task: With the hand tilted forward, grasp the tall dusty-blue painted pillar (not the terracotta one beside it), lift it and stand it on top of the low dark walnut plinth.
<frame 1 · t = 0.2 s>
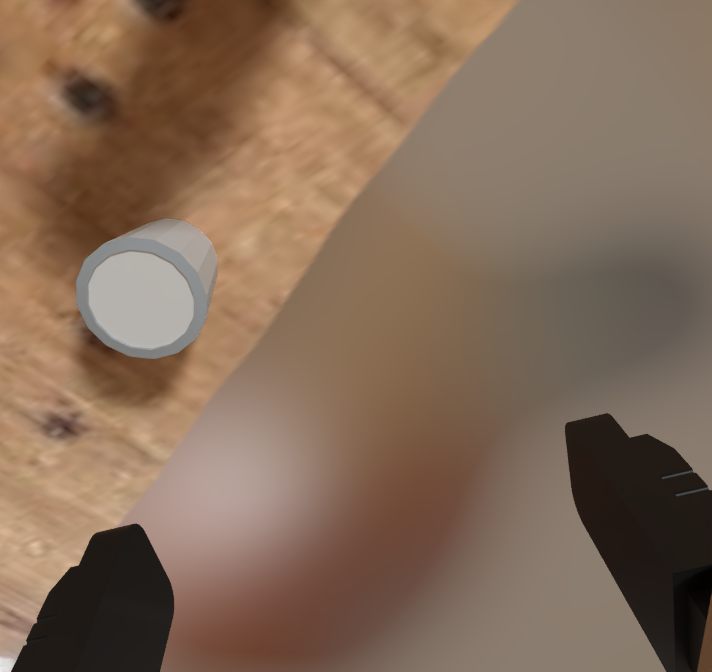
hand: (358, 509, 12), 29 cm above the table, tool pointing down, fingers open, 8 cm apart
shot glass: (174, 261, 40), on the table
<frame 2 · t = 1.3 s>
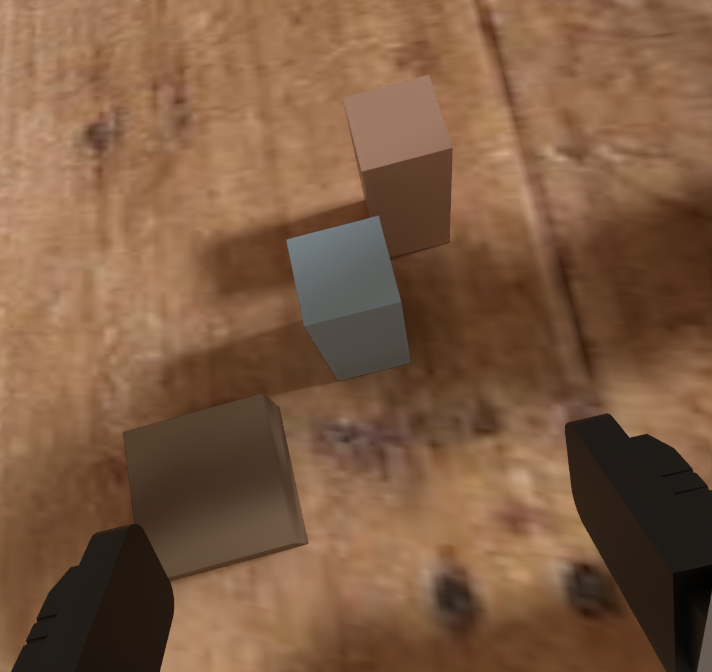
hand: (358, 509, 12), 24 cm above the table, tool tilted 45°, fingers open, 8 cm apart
walnut plinth: (228, 491, 37), on the table
blue pillar: (366, 337, 38), on the table
terracotta pillar: (406, 220, 40), on the table
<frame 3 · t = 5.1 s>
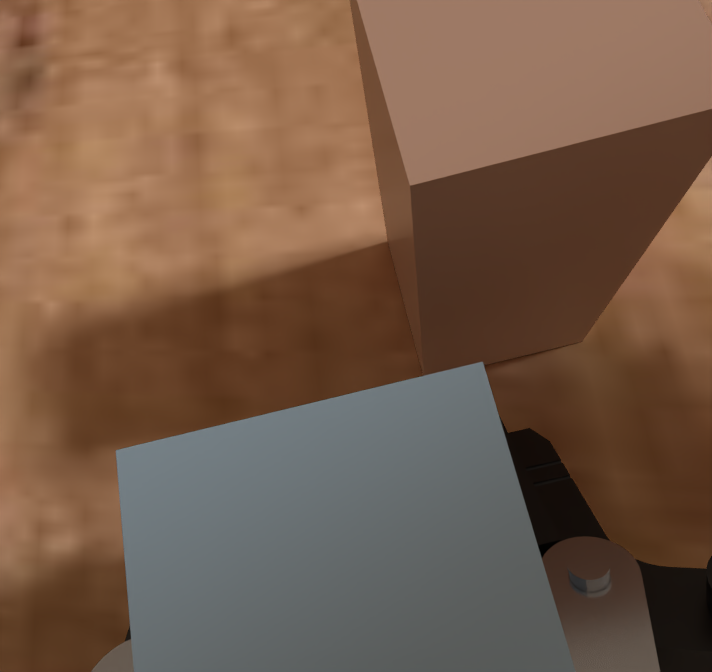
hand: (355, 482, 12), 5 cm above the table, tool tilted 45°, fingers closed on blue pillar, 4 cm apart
blue pillar: (394, 574, 16), on the table, touching gripper
terracotta pillar: (480, 288, 18), on the table
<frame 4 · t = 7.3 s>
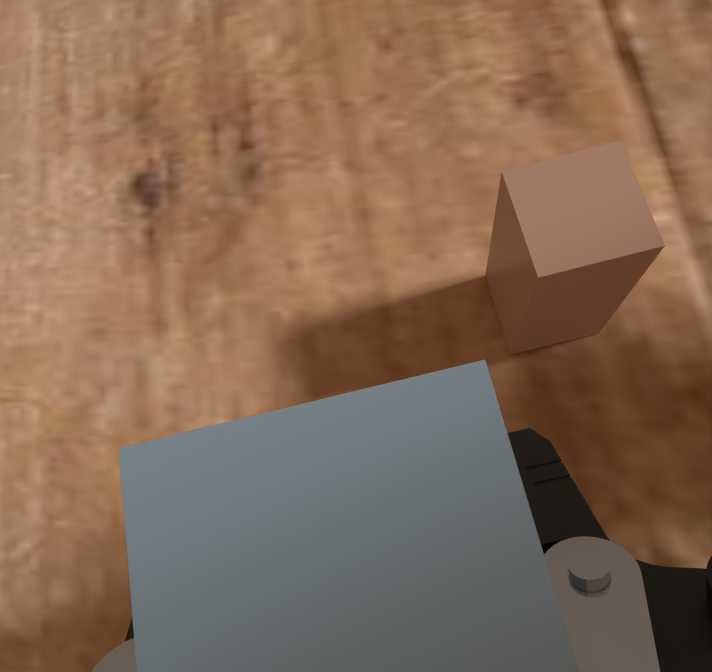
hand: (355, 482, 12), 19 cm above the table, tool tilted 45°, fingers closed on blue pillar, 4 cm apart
blue pillar: (395, 573, 16), point 14 cm above the table, touching gripper
terracotta pillar: (540, 303, 32), on the table
when the fingers open (10 cm above the table, at t = 9.7 s): blue pillar drops 1 cm, resting on walnut plinth.
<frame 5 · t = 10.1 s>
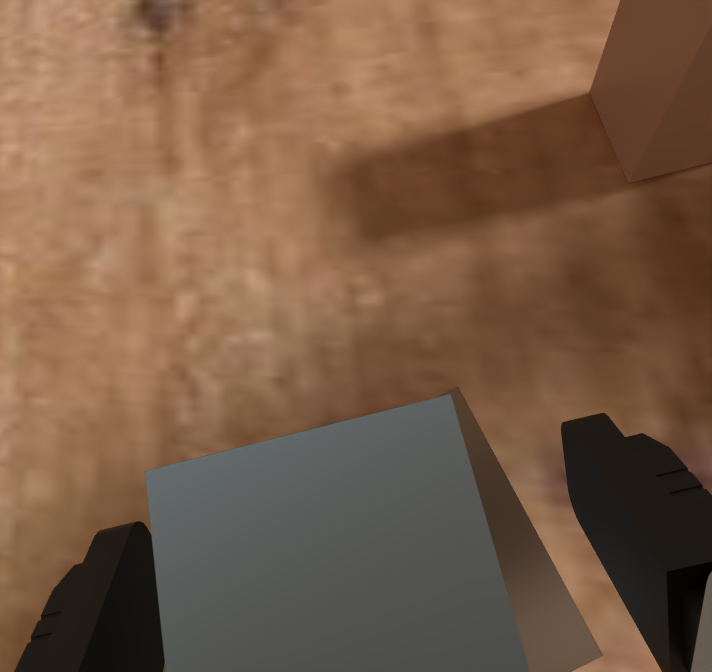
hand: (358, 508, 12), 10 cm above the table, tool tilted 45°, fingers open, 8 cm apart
walnut plinth: (403, 569, 21), on the table, touching blue pillar
blue pillar: (390, 573, 17), point 4 cm above the table, touching walnut plinth
terracotta pillar: (663, 122, 25), on the table
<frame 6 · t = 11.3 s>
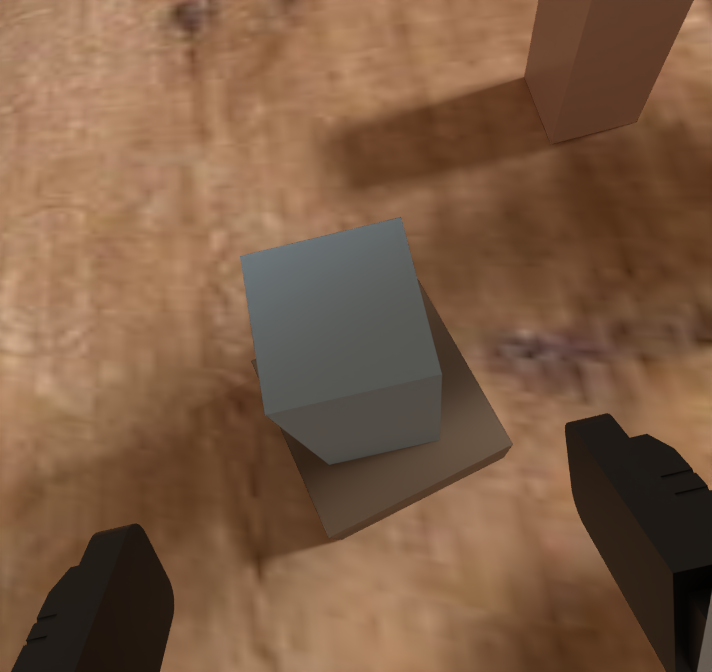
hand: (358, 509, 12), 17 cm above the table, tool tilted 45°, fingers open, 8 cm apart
walnut plinth: (383, 419, 29), on the table, touching blue pillar
blue pillar: (372, 398, 26), point 4 cm above the table, touching walnut plinth
terracotta pillar: (578, 98, 33), on the table
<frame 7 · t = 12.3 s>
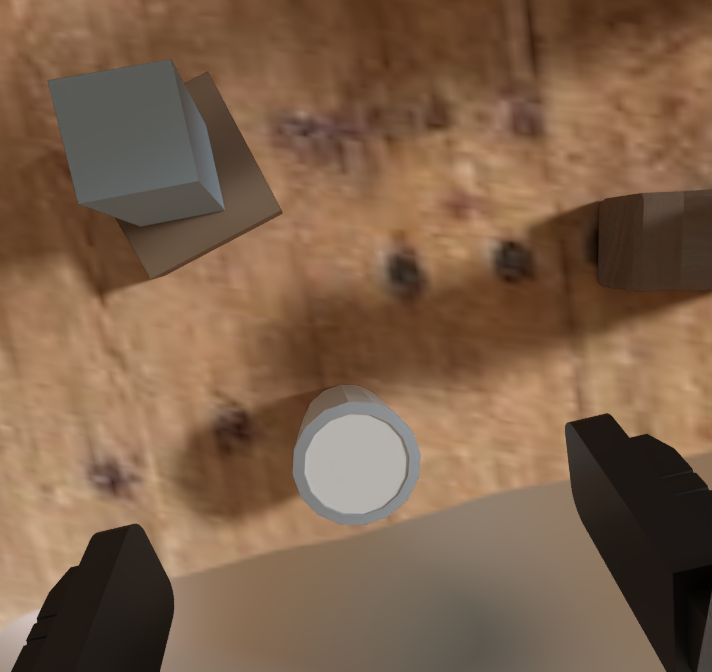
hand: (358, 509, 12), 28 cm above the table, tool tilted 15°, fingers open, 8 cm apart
walnut plinth: (190, 184, 37), on the table, touching blue pillar
shot glass: (346, 426, 40), on the table
blue pillar: (173, 176, 33), point 4 cm above the table, touching walnut plinth
decorative block: (676, 240, 41), on the table
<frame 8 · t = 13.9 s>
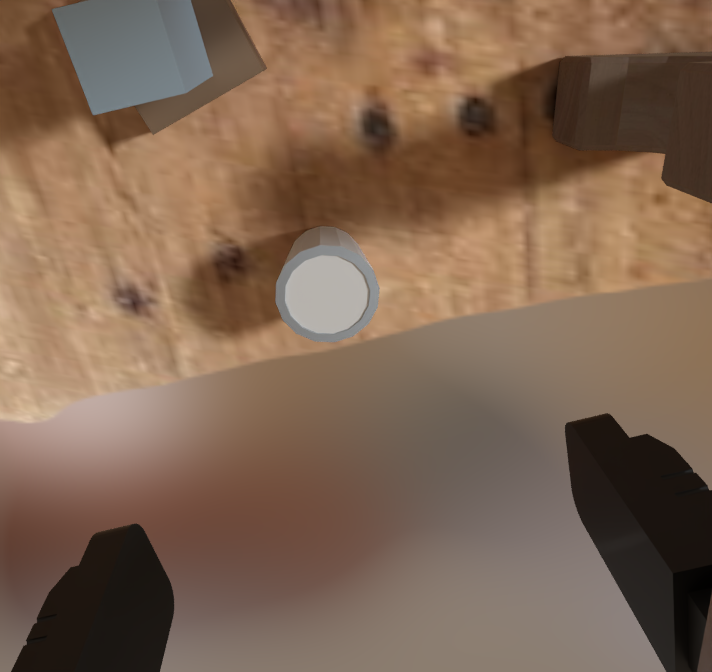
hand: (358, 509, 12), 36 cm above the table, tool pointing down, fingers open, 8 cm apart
walnut plinth: (182, 39, 41), on the table, touching blue pillar
shot glass: (325, 261, 47), on the table
blue pillar: (164, 44, 37), point 4 cm above the table, touching walnut plinth
decorative block: (630, 96, 44), on the table
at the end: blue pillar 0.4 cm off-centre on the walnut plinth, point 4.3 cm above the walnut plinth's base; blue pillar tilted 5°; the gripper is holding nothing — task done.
